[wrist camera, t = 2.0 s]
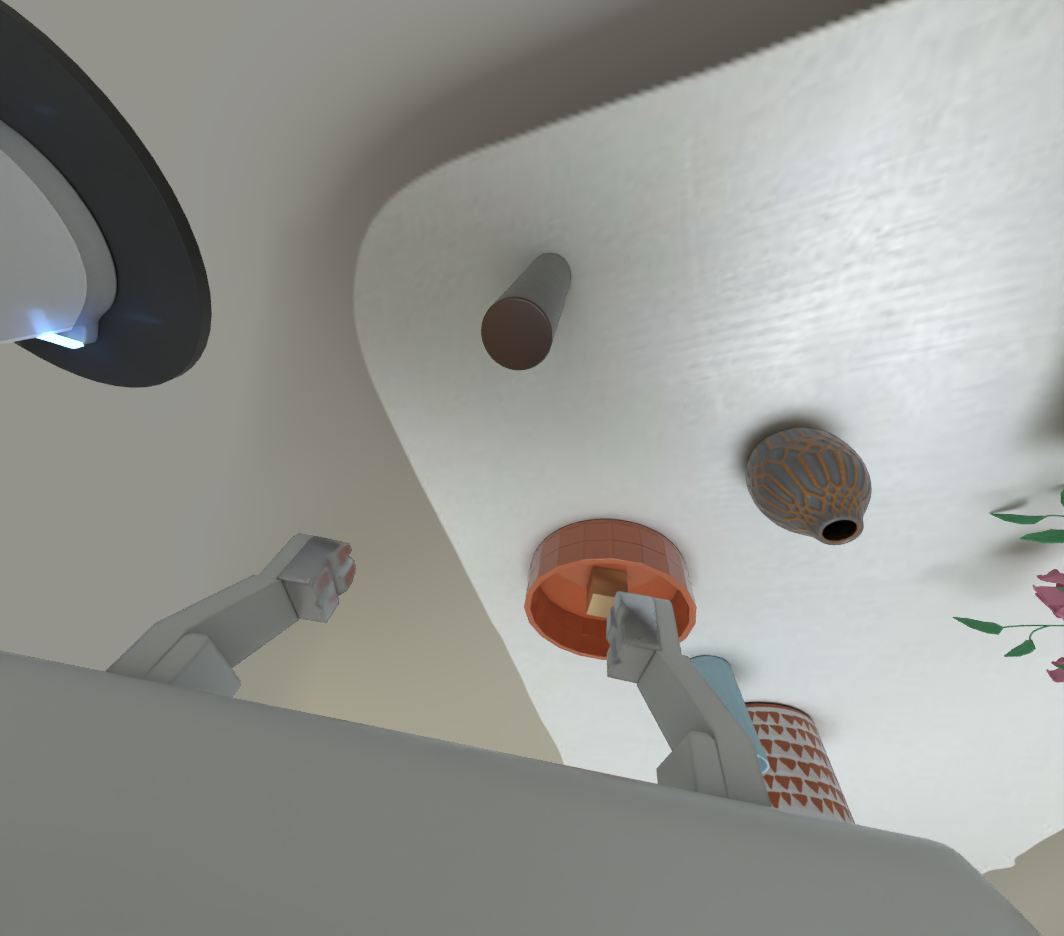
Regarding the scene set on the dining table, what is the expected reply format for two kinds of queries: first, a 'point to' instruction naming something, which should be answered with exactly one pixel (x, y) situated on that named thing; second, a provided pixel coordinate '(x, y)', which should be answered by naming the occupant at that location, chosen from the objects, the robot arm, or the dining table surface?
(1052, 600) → the flower vase
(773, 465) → the vase
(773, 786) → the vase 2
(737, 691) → the cup
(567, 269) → the dark brown cylinder
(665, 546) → the bowl
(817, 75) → the dining table surface
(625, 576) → the block
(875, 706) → the dining table surface
